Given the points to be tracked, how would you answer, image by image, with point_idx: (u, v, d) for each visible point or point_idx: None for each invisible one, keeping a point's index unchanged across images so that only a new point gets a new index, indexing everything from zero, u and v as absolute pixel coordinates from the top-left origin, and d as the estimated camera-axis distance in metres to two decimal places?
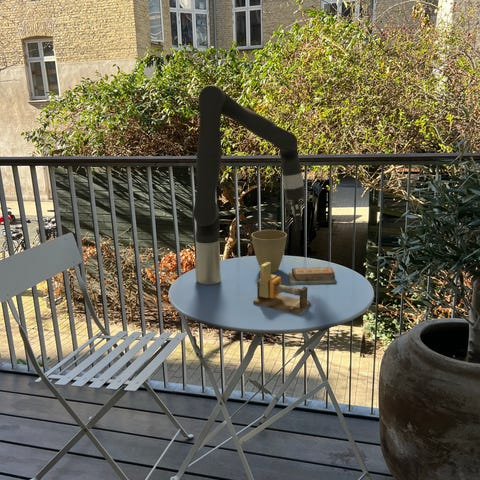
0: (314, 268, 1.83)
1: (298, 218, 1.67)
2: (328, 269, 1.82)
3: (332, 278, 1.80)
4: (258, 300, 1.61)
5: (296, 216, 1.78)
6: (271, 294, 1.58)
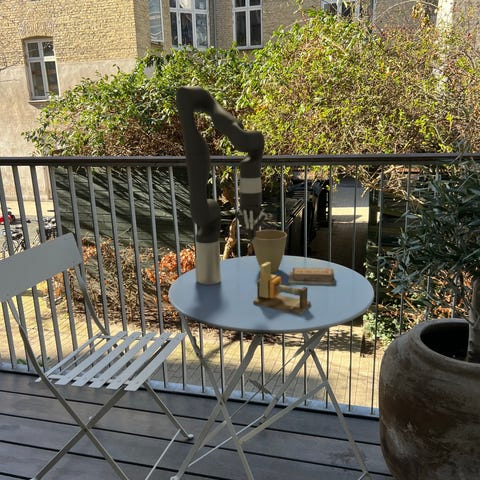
0: (314, 269, 1.82)
1: None
2: (328, 271, 1.80)
3: (331, 280, 1.78)
4: (258, 300, 1.61)
5: None
6: (271, 294, 1.58)
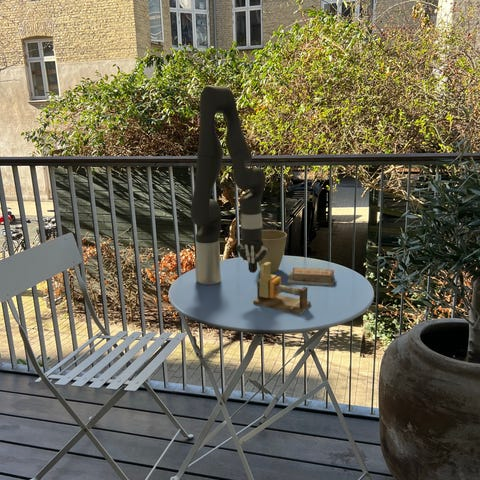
0: (314, 269, 1.82)
1: None
2: (328, 271, 1.79)
3: (330, 281, 1.77)
4: (258, 300, 1.61)
5: None
6: (271, 294, 1.58)
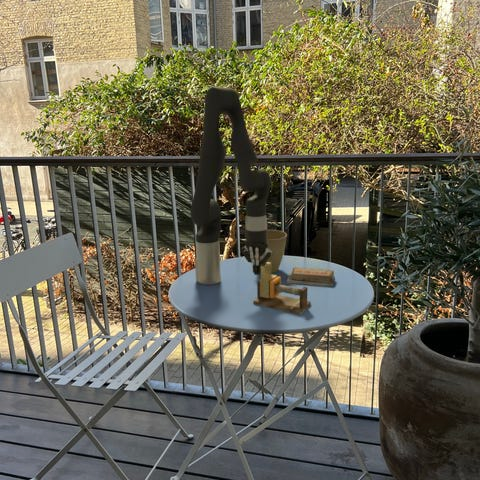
0: (314, 269, 1.82)
1: None
2: (328, 272, 1.79)
3: (329, 281, 1.77)
4: (258, 300, 1.61)
5: None
6: (271, 294, 1.58)
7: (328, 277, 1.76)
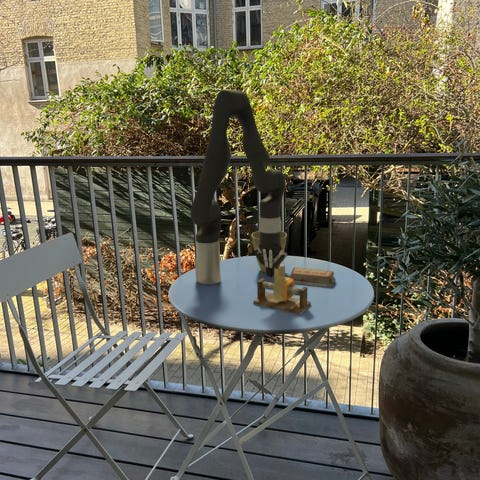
0: (314, 270, 1.81)
1: None
2: (327, 272, 1.78)
3: (328, 282, 1.76)
4: (258, 300, 1.61)
5: None
6: (284, 297, 1.55)
7: (327, 278, 1.75)
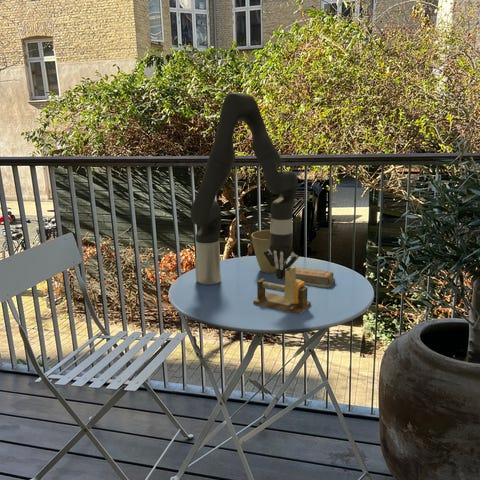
0: (314, 270, 1.81)
1: None
2: (326, 273, 1.77)
3: (327, 283, 1.75)
4: (258, 300, 1.61)
5: None
6: (295, 299, 1.53)
7: (325, 278, 1.75)
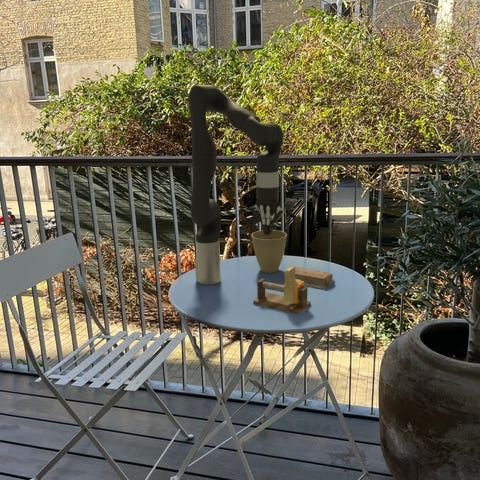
0: (313, 271, 1.80)
1: None
2: (325, 274, 1.76)
3: (324, 284, 1.74)
4: (258, 300, 1.61)
5: None
6: (295, 299, 1.53)
7: (322, 279, 1.74)
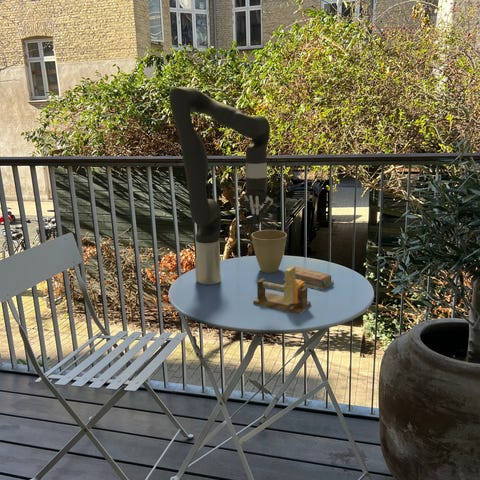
0: (312, 271, 1.80)
1: None
2: (323, 276, 1.75)
3: (321, 285, 1.73)
4: (258, 300, 1.61)
5: None
6: (295, 299, 1.53)
7: (319, 280, 1.73)
